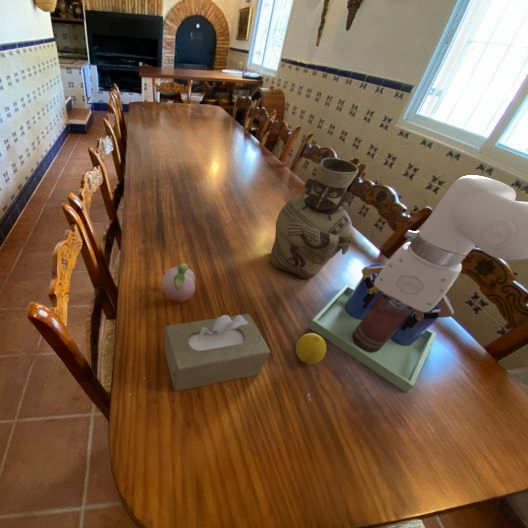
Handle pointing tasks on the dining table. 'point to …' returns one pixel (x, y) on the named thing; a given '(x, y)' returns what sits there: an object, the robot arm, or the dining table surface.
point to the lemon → (311, 348)
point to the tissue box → (214, 351)
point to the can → (380, 323)
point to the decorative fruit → (179, 283)
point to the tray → (382, 362)
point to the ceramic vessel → (315, 221)
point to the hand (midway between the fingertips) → (384, 315)
